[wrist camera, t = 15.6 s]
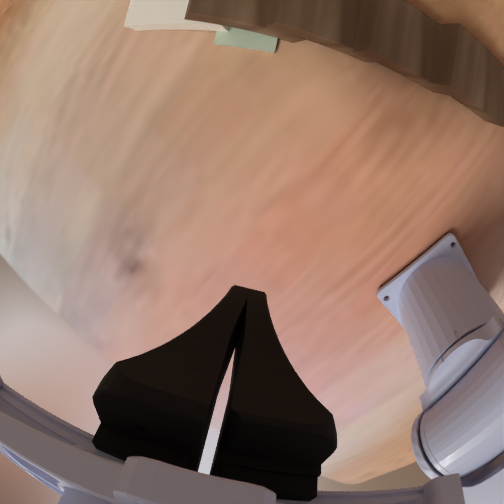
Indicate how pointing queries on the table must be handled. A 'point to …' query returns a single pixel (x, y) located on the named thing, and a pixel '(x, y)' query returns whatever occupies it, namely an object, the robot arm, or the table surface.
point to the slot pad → (246, 40)
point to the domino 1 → (164, 16)
